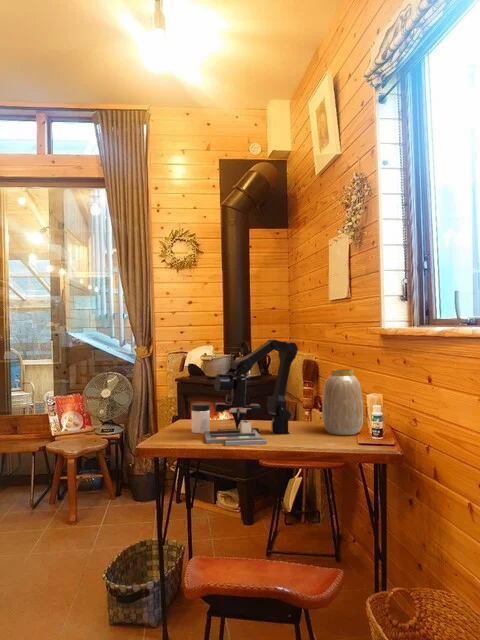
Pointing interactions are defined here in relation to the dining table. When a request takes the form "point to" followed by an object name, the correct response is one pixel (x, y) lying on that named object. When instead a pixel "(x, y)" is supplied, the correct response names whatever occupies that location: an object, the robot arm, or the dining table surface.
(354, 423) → the vase
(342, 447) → the dining table surface
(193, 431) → the jar
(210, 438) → the breaker panel
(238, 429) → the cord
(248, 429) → the breaker lever
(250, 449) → the dining table surface
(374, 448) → the dining table surface
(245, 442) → the grey flat bar
